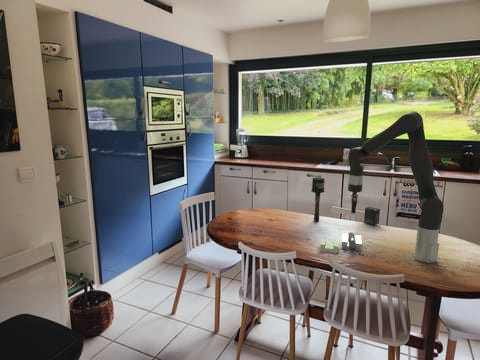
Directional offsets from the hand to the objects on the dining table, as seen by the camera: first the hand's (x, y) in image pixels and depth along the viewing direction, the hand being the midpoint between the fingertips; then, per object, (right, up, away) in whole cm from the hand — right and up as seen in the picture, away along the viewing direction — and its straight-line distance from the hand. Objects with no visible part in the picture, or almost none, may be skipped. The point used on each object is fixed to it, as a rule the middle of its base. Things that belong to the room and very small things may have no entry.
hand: (353, 212), depth 184 cm
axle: (-3, -17, -7) cm, 18 cm away
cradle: (-16, -19, -9) cm, 27 cm away
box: (+23, -11, +31) cm, 40 cm away
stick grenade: (-13, -10, +36) cm, 39 cm away
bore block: (-3, -18, -4) cm, 19 cm away
